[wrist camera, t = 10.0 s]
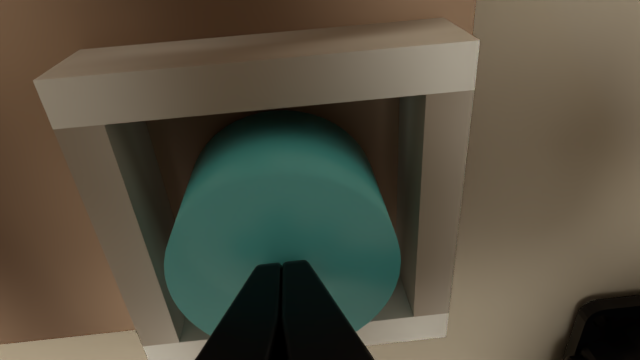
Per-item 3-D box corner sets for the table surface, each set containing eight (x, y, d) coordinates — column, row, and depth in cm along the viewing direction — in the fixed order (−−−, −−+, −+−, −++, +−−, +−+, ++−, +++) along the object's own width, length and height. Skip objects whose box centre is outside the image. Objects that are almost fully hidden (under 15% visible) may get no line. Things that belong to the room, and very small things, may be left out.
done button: (374, 101, 9) (404, 161, 7) (374, 256, 11) (398, 340, 9) (169, 120, 9) (133, 187, 6) (210, 273, 11) (192, 363, 9)
